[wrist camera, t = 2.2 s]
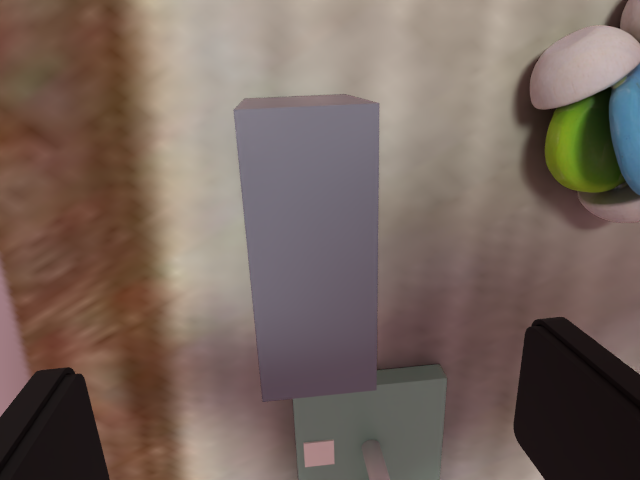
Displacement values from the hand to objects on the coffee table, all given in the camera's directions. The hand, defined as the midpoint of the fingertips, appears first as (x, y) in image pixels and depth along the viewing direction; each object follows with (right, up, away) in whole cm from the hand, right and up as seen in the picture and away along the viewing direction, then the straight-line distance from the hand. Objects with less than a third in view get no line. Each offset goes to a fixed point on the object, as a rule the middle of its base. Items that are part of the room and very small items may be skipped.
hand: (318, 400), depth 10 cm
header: (+3, -10, +17) cm, 20 cm away
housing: (-1, +5, +11) cm, 12 cm away
